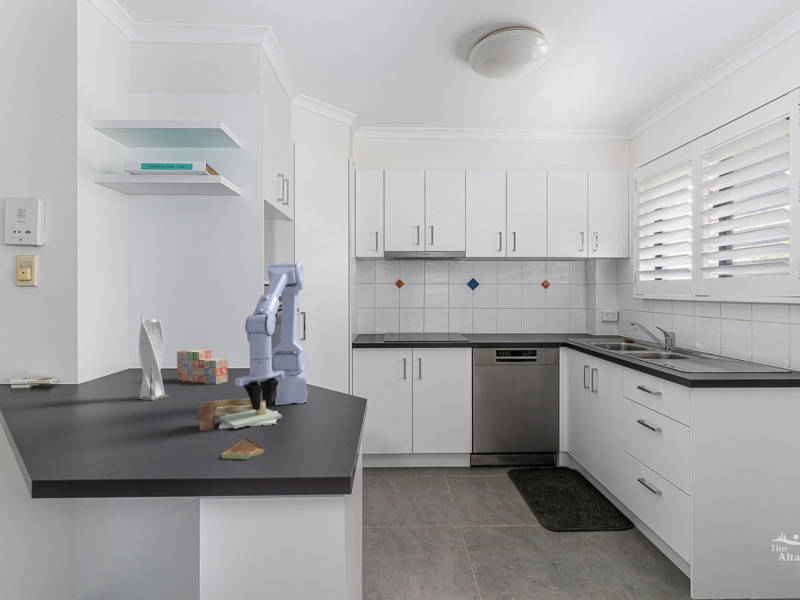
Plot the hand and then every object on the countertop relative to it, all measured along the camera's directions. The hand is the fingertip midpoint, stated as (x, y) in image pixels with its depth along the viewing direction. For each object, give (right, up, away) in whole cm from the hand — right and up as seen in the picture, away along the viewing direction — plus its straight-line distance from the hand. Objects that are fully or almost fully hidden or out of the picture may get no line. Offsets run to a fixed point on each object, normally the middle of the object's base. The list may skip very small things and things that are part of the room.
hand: (261, 408), depth 123 cm
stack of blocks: (-42, -4, +59) cm, 72 cm away
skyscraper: (-46, -4, +30) cm, 55 cm away
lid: (-2, -2, -2) cm, 4 cm away
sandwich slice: (+3, -4, -26) cm, 26 cm away
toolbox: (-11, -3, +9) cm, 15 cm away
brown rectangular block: (-12, -3, -6) cm, 14 cm away
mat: (-3, -3, -1) cm, 4 cm away
